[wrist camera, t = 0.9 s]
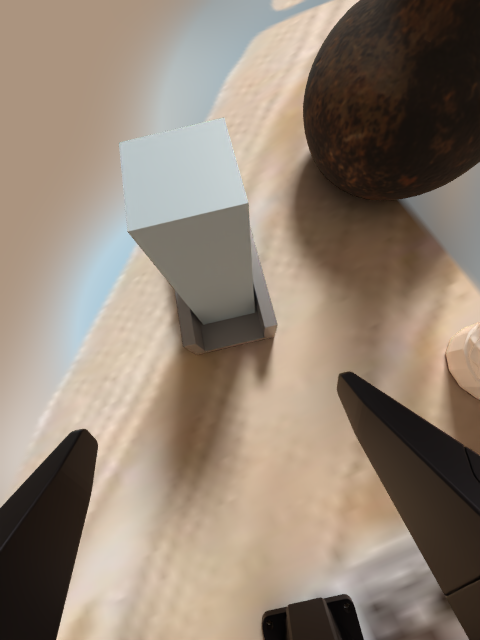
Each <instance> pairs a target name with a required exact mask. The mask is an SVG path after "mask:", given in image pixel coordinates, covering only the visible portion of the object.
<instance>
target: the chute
mask: <svg viewBox="0 0 480 640" xmlns="http://www.w3.org/2000/svg"><path fill="white" fill-rule="evenodd" d="M250 239H251V256H252V274H253V291H254V308H255V313H252V314H248V315H243V316H239V317H235V318H230V319H226V320H222V321H218V322H213V323H209V324H205V325H203V324H202V322H201V321H200V320H199V319H198V318H197V316H196V315H195V314H194V313H193V311H192V310H191V309H190V308H189V306H188V305H187V304H186V303H185V302H184V300H183V299H182V298H181V297H180V295H179V294H178V293H177V292H176V291H175V295H176V302H177V308H178V315H179V322H180V328H181V335H182V342H183V347H185V348H186V349H188V350H189V351H191V352H193V353H194V354H196V355H199V354H203V353H207V352H212V351H216V350H220V349H225V348H229V347H233V346H237V345H242V344H246V343H250V342H255V341H259V340H263V339H268V338H272V337H274V336H275V333H276V329H277V321H276V317H275V314H274V310H273V307H272V303H271V299H270V296H269V292H268V289H267V285H266V281H265V278H264V274H263V271H262V267H261V263H260V260H259V256H258V252H257V249H256V245H255V242H254V238H253V234H252V231H251V227H250Z"/></svg>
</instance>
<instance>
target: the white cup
mask: <svg viewBox="0 0 480 640" xmlns="http://www.w3.org/2000/svg"><path fill="white" fill-rule="evenodd" d="M446 357H447V362H448V367H449V371H450V372H451V374H452V375H453V377H454V378H455V380H456V381H457V383H458V384H459V386H460V387H461V388H463V389H464V390H465V391H467V392H468V393H470V394H471V395H472V396H474V397H475V398H477V399H479V400H480V322H478V323H476V324H473V325H470V326H468V327H465V328H463V329H462V330H460V331H459V332H458V333H457V334H455V335H454V336H453V337H452V338H451V339H450V342H449V345H448V348H447V351H446Z"/></svg>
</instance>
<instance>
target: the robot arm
mask: <svg viewBox="0 0 480 640" xmlns="http://www.w3.org/2000/svg"><path fill="white" fill-rule="evenodd" d="M337 392H338V395H339V398H340V400H341V402H342V405H343V407H344V409H345V412H346V414H347V416H348V419H349V421H350V423H351V426H352V428H353V430H354V432H355V435H356V437H357V438H358V440H359V442H360V444H361V446H362V448H363V449H364V451H365V453H366V455H367V457H368V458H369V460H370V462H371V464H372V466H373V467H374V469H375V471H376V473H377V475H378V476H379V478H380V480H381V482H382V484H383V485H384V487H385V489H386V491H387V493H388V494H389V496H390V498H391V500H392V501H393V503H394V505H395V507H396V509H397V510H398V512H399V514H400V516H401V518H402V519H403V521H404V523H405V525H406V527H407V528H408V530H409V532H410V534H411V536H412V537H413V539H414V541H415V543H416V545H417V546H418V548H419V550H420V552H421V553H422V555H423V557H424V559H425V561H426V562H427V564H428V566H429V568H430V570H431V571H432V573H433V575H434V577H435V579H436V580H437V582H438V584H439V586H440V588H441V589H442V591H443V593H444V594H445V595H446V599H447V600H448V602H449V604H450V606H451V608H452V609H453V611H454V613H455V615H456V617H457V618H458V620H459V622H460V624H461V626H462V627H463V629H464V631H465V633H466V635H467V636H468V638H469V640H480V455H479V454H477V453H475V452H474V451H472V450H471V449H469V448H468V447H464V445H463V444H461V443H460V442H458V441H457V440H455V439H454V438H452V437H451V436H449V435H448V434H446V433H445V432H443V431H442V430H440V429H439V428H437V427H435V426H434V425H432V424H431V423H429V422H428V421H426V420H425V419H423V418H422V417H420V416H419V415H417V414H416V413H414V412H412V411H411V410H409V409H408V408H406V407H405V406H403V405H402V404H400V403H399V402H397V401H396V400H394V399H393V398H391V397H390V396H388V395H386V394H385V393H383V392H382V391H380V390H379V389H377V388H376V387H374V386H373V385H371V384H370V383H368V382H367V381H365V380H364V379H362V378H360V377H359V376H357V375H356V374H354V373H353V372H344V373H340V374H339V376H338V384H337ZM97 450H98V443H97V440H96V439H95V438H94V437H93V436H92V435H91V434H90V433H89V431H88V430H86V429H80V430H75V431H72V432H71V433H70V434H69V435H68V436H67V437H66V438H65V439H64V440H63V441H62V442H61V443H60V444H59V445H58V446H57V448H56V449H55V450H54V451H53V452H52V453H51V454H50V455H49V456H48V457H47V458H46V459H45V460H44V462H43V463H42V464H41V465H40V466H39V467H38V468H37V469H36V470H35V471H34V472H33V473H32V474H31V476H30V477H29V478H28V479H27V480H26V481H25V482H24V483H23V484H22V485H21V486H20V487H19V489H18V490H17V491H16V492H15V493H14V494H13V495H12V496H11V497H10V498H9V499H8V500H7V501H6V503H5V504H4V505H3V506H2V507H1V508H0V640H56V638H57V634H58V630H59V626H60V622H61V617H62V613H63V609H64V605H65V601H66V597H67V593H68V588H69V584H70V580H71V576H72V572H73V568H74V564H75V559H76V555H77V551H78V547H79V543H80V539H81V535H82V530H83V526H84V522H85V518H86V514H87V510H88V506H89V501H90V497H91V492H92V486H93V478H94V471H95V464H96V457H97ZM346 603H348V604H349V607H348V608H344V604H346ZM268 620H270V621H272V624H271V625H268V624H267V623H266V622H267V621H268ZM262 626H263V632H264V637H265V640H364V639H363V635H362V632H361V628H360V624H359V621H358V617H357V614H356V610H355V606H354V604H353V602H352V600H351V598H350V597H349V596H348V595H346V594H342V595H338V596H333V597H329V598H324V599H323V598H316V599H312V600H307V601H303V602H298V603H294V604H289V605H288V607H283V608H279V609H274V610H270V611H267V612H265V613H264V614H263V617H262Z"/></svg>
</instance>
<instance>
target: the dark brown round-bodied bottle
mask: <svg viewBox="0 0 480 640" xmlns="http://www.w3.org/2000/svg"><path fill="white" fill-rule="evenodd" d="M303 119H304V129H305V135H306V139H307V143H308V146H309V149H310V152H311V155H312V157H313V159H314V161H315V163H316V164H317V166H318V168H319V169H320V170H321V172H322V173H323V174H324V175H325V177H326V178H327V179H328V180H329V181H331V182H332V183H333V184H334V185H336V186H337V187H339V188H340V189H342V190H344V191H346V192H347V193H350V194H352V195H355V196H357V197H361V198H365V199H371V200H396V199H404V198H408V197H413V196H417V195H421V194H423V193H426V192H429V191H432V190H434V189H437V188H439V187H441V186H443V185H446V184H447V183H449V182H451V181H453V180H454V179H456V178H457V177H459V176H461V175H462V174H464V173H465V172H467V171H468V170H469V169H471V168H472V167H473V166H475V165H476V164H477V163H479V162H480V0H360V1H359V2H357V3H356V4H355V5H353V6H352V7H351V8H350V9H349V10H348V11H347V12H346V14H345V15H344V16H343V17H342V18H341V19H340V20H339V21H338V23H337V24H336V25H335V26H334V28H333V29H332V30H331V32H330V33H329V35H328V36H327V38H326V39H325V41H324V43H323V44H322V46H321V48H320V50H319V52H318V54H317V56H316V58H315V60H314V63H313V65H312V68H311V71H310V73H309V77H308V81H307V85H306V89H305V95H304V103H303Z"/></svg>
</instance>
